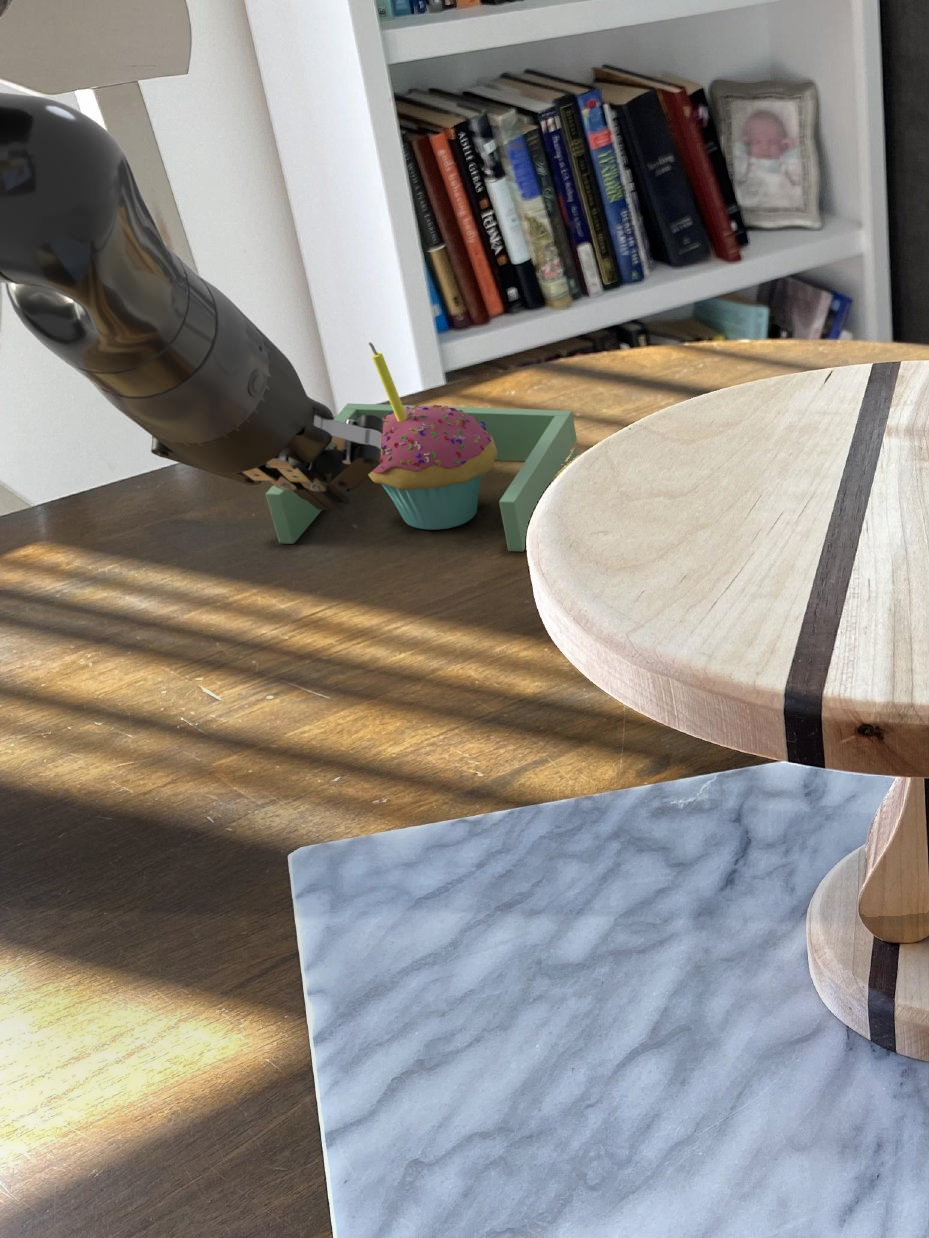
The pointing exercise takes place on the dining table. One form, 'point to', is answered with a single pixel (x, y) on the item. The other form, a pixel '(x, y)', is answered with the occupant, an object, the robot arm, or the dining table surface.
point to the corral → (516, 439)
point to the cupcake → (431, 460)
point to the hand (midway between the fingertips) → (333, 494)
